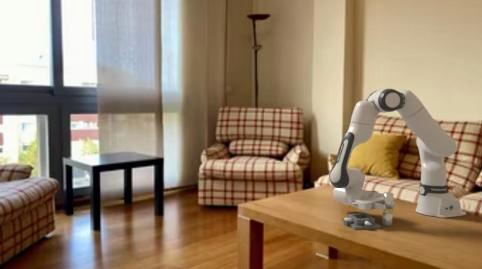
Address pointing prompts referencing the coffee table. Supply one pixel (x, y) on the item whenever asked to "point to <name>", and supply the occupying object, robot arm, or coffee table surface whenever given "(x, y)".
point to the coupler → (388, 209)
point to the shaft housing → (361, 221)
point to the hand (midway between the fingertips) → (389, 206)
